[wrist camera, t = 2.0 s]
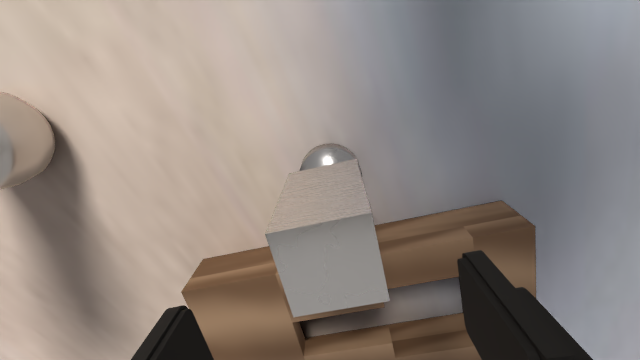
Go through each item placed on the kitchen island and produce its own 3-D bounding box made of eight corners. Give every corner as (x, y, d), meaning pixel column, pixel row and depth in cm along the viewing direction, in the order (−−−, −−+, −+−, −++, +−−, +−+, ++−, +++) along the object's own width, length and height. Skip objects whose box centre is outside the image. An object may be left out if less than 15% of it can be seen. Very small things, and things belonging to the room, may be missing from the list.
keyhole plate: (203, 259, 26) (181, 292, 22) (501, 200, 23) (535, 226, 19) (248, 363, 30) (236, 406, 26) (508, 323, 27) (536, 364, 23)
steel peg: (293, 151, 22) (258, 230, 11) (353, 137, 22) (376, 206, 11) (308, 205, 24) (290, 321, 13) (365, 193, 23) (395, 304, 12)
